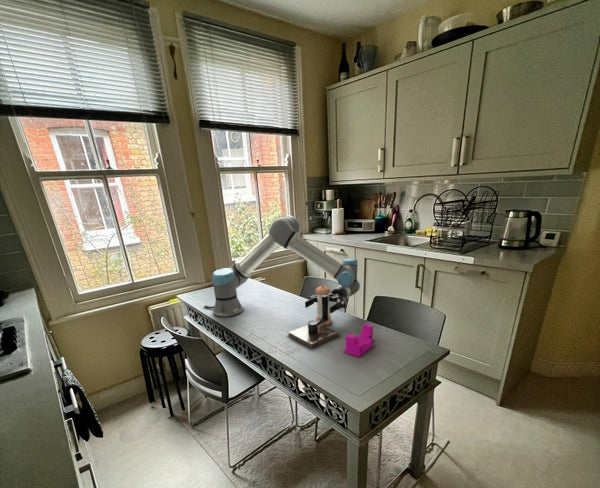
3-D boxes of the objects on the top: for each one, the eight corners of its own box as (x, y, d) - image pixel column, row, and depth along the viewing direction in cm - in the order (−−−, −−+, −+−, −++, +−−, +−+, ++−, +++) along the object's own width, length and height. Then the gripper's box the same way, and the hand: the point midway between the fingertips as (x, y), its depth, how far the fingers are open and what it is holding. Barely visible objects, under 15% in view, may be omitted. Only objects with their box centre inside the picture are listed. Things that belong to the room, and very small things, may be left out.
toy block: (358, 356, 126) (358, 340, 123) (345, 351, 130) (345, 335, 127) (377, 342, 136) (378, 327, 133) (364, 338, 140) (365, 323, 137)
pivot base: (288, 336, 146) (288, 331, 145) (314, 325, 155) (314, 321, 154) (311, 348, 134) (311, 343, 133) (338, 336, 143) (338, 332, 142)
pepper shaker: (333, 321, 158) (333, 285, 150) (324, 326, 153) (323, 289, 145) (322, 318, 162) (321, 282, 154) (313, 322, 158) (312, 286, 150)
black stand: (313, 335, 141) (312, 304, 135) (306, 332, 144) (304, 302, 138) (330, 325, 149) (330, 295, 143) (323, 323, 152) (322, 294, 146)
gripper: (362, 305, 154) (341, 320, 139) (320, 296, 168) (296, 310, 153) (363, 290, 151) (341, 304, 136) (319, 283, 165) (295, 295, 150)
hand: (317, 307), depth 144 cm, fingers open, 13 cm apart
